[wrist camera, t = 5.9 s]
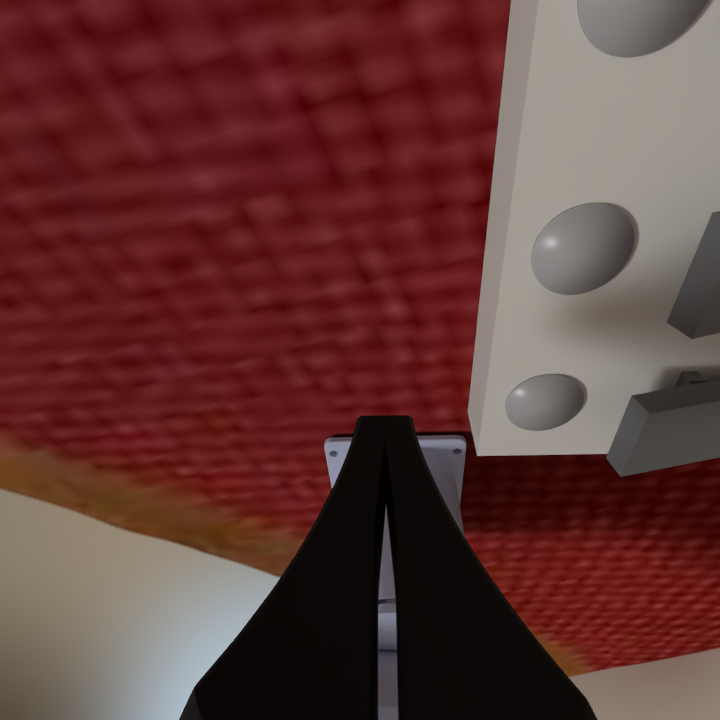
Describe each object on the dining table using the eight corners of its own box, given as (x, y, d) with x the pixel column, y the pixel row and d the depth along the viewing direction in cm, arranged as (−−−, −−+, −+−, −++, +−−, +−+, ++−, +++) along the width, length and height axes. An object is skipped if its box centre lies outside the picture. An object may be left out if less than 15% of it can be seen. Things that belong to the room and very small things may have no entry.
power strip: (702, 406, 23) (747, 461, 20) (467, 412, 24) (479, 465, 21) (1069, -258, 10) (1338, -364, 7) (531, -191, 11) (582, -261, 8)
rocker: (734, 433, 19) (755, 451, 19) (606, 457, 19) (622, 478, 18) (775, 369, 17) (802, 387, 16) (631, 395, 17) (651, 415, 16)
